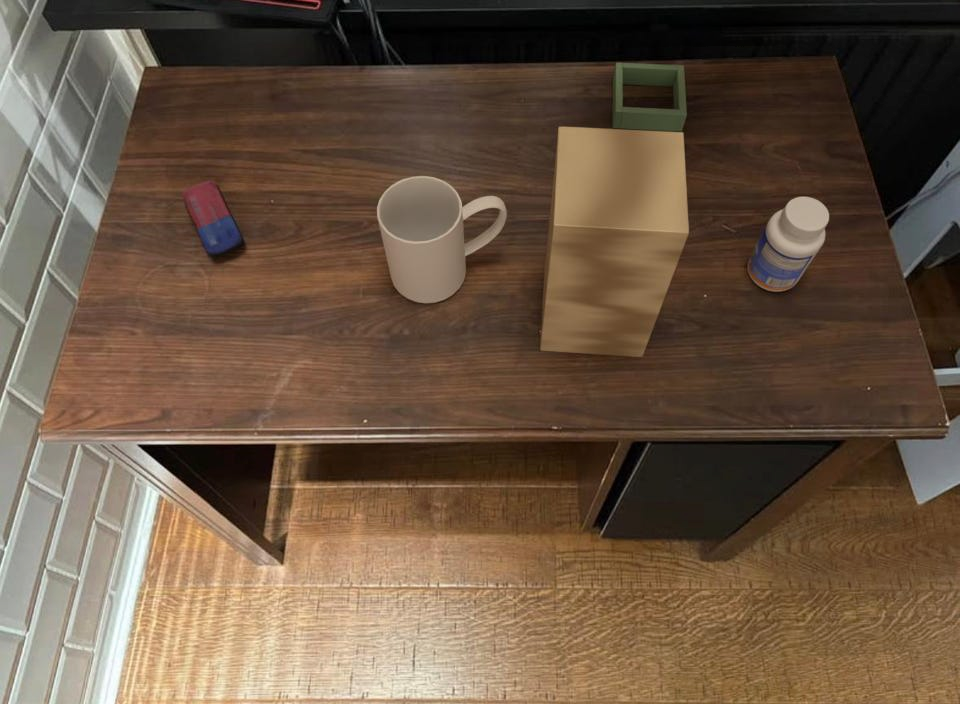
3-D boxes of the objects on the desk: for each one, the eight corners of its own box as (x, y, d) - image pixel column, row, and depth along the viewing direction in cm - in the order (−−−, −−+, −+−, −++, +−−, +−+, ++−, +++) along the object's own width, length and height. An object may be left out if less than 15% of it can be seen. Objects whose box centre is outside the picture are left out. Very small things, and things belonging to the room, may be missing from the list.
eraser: (182, 196, 83) (175, 185, 82) (216, 182, 84) (211, 171, 82) (213, 267, 78) (207, 257, 77) (250, 251, 79) (244, 241, 77)
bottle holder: (679, 82, 90) (684, 65, 87) (681, 131, 86) (687, 114, 84) (612, 79, 90) (615, 62, 88) (612, 128, 87) (615, 111, 84)
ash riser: (640, 272, 77) (683, 132, 59) (642, 357, 72) (689, 232, 55) (544, 266, 78) (558, 125, 60) (539, 350, 73) (553, 225, 55)
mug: (397, 311, 75) (383, 250, 66) (385, 249, 79) (370, 183, 70) (513, 288, 76) (516, 225, 67) (496, 228, 80) (496, 160, 71)
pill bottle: (766, 241, 79) (799, 179, 70) (809, 271, 77) (849, 211, 68) (735, 271, 77) (765, 212, 68) (778, 303, 75) (815, 246, 66)
